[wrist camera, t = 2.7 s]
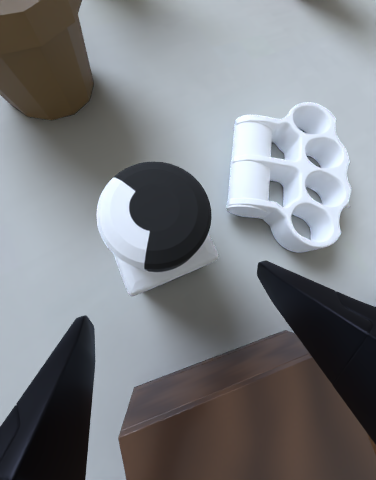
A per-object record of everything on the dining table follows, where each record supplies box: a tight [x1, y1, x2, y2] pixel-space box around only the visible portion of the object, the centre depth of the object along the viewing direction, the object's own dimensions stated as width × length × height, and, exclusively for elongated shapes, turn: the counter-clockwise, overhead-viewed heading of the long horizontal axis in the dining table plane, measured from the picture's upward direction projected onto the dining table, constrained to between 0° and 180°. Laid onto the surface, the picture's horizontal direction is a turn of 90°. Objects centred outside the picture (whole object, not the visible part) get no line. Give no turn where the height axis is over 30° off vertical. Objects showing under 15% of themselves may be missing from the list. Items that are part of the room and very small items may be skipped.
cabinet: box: [118, 330, 376, 480], centre depth 16 cm, size 16×12×6 cm
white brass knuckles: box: [226, 102, 352, 253], centre depth 23 cm, size 3×18×15 cm
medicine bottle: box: [97, 162, 219, 296], centre depth 16 cm, size 7×7×12 cm
